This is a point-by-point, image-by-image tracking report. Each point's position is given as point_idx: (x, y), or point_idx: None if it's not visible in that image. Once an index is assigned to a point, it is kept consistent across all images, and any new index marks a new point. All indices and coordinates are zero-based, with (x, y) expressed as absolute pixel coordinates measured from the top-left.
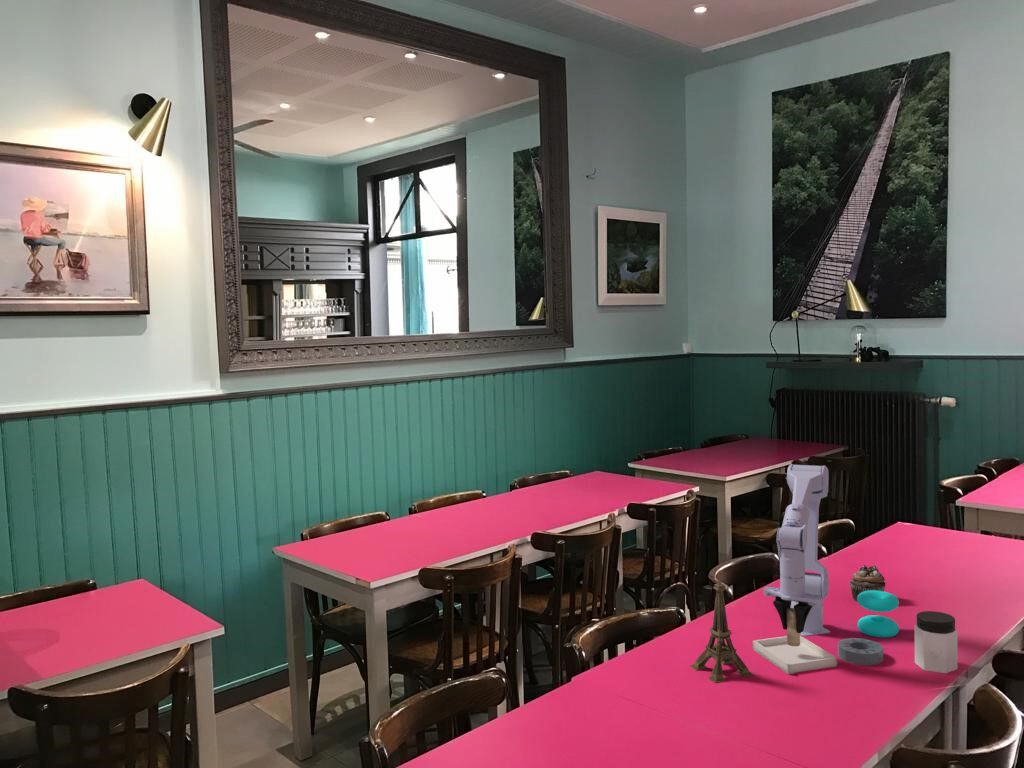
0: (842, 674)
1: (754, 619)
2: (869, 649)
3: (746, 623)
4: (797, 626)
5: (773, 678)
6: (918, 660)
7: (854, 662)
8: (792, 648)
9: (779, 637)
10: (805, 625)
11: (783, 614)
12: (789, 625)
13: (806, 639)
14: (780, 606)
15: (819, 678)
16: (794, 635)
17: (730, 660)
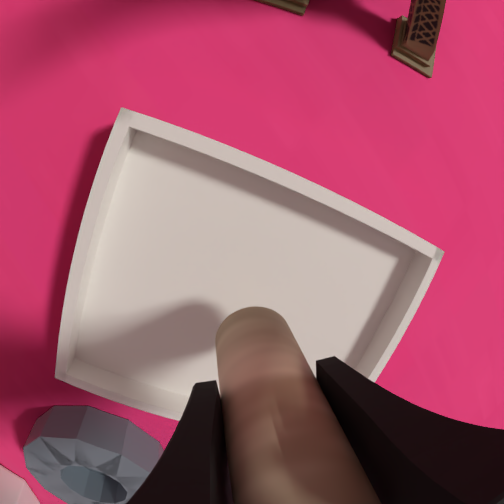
0: (14, 309)
1: (476, 415)
2: (55, 476)
3: (488, 384)
4: (202, 412)
5: (158, 29)
6: (4, 479)
7: (58, 411)
8: None
9: (374, 374)
10: None
11: (382, 438)
12: (284, 389)
13: None
14: (463, 484)
15: (27, 201)
16: (233, 358)
17: (402, 44)
